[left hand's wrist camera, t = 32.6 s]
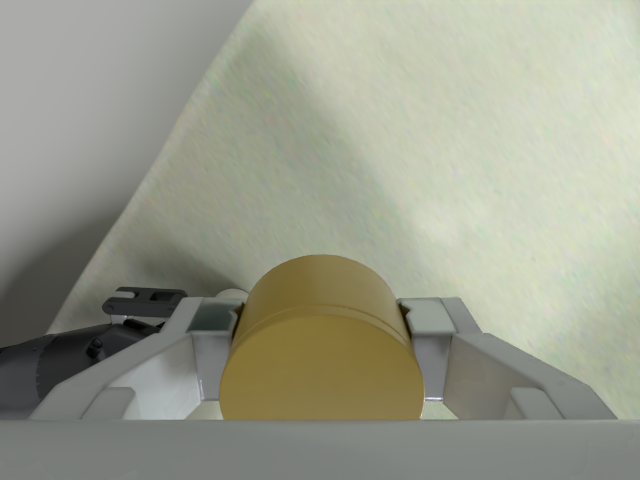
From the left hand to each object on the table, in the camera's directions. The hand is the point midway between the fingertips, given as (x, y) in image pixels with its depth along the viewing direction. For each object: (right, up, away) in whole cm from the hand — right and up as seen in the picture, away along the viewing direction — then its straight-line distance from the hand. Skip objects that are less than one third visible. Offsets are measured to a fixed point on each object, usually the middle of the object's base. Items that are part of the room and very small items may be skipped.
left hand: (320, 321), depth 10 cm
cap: (0, -1, -2) cm, 2 cm away
